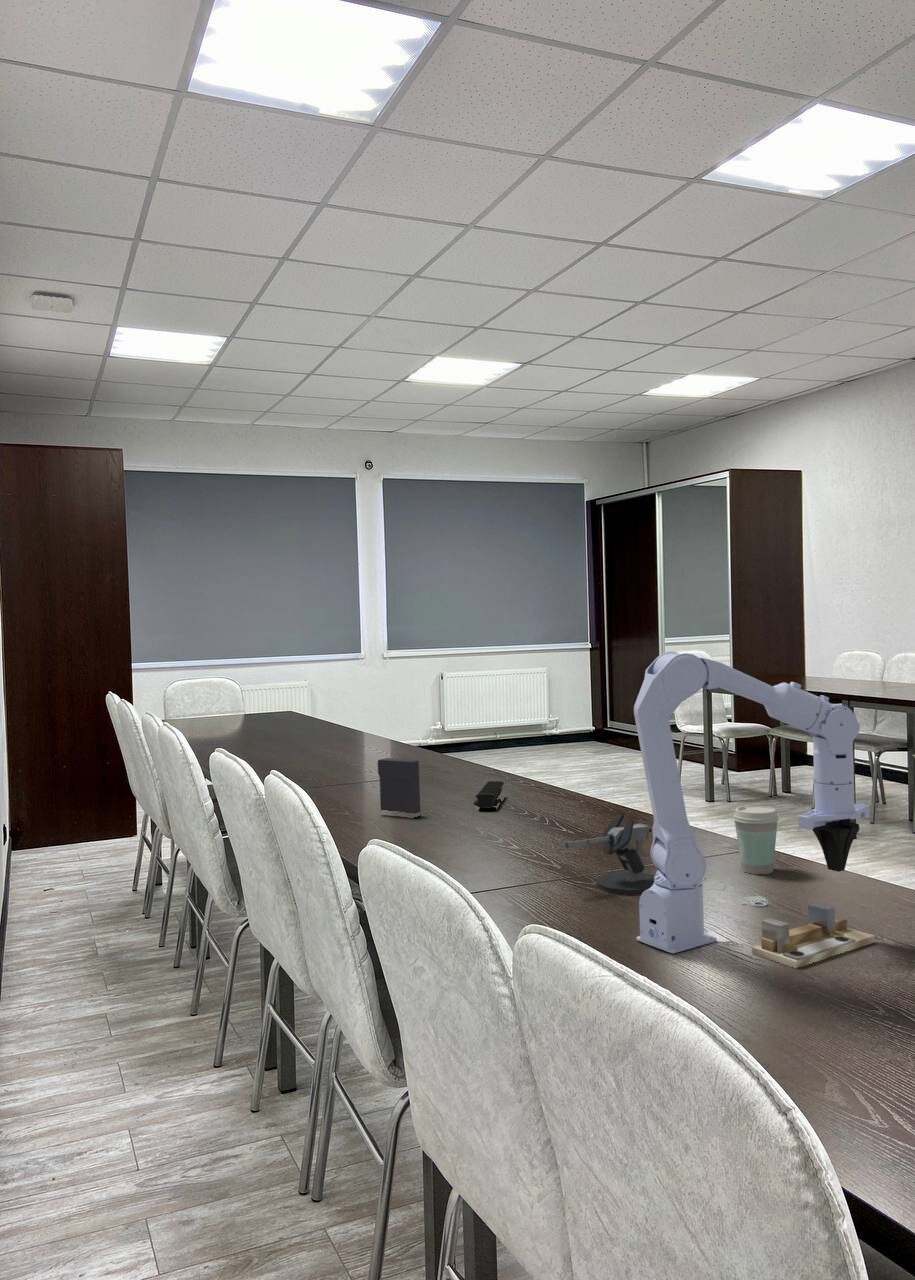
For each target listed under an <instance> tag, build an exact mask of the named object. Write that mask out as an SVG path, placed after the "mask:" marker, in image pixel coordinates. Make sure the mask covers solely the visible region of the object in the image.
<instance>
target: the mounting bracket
mask: <svg viewBox="0 0 915 1280" xmlns="http://www.w3.org/2000/svg"><path fill="white" fill-rule="evenodd" d="M736 898H737V899H738V898H739V900H741V901H742V903H743V902H744V903H746V904H748V903H749V902H750V905H749V904H748V905H747V906H751V907H755V908H767V907H768V904H769V903H768V902H767V903H765V902H766V899H767V898H766V897H763V896H760V895H753V896H752V895H751V896H742V897H736ZM742 898H743V900H744V899H745V901H743V900H742ZM731 899H732V900H733V898H731ZM732 900H731V901H732ZM739 900H738V901H739ZM746 900H747V902H748V901H749V902H748V903H747V902H746ZM752 900H753V902H752ZM756 900H757V901H756ZM762 900H763V901H765V902H762ZM768 900H769V899H767V901H768ZM741 901H740V902H741ZM754 901H755V902H754ZM760 901H761V902H760ZM740 904H741V903H740Z"/></svg>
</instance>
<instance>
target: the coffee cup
mask: <svg viewBox="0 0 915 1280" xmlns="http://www.w3.org/2000/svg"><path fill="white" fill-rule="evenodd" d="M733 813H734V814H733V816H732V817H733V818H732V820H734V824H735V825H734V826H735V833H736V839H737V846H738V847H737V848H738V854H739V861H740V866H741V871H742V872H743V871H744V872H743V873H745V872H747V873H746V874H749V873H752V874H751V875H757V874H763V875H768V874H769V873H770V874H772V873H773V872H774V865H775V863H774V862H775V855H776V843H777V842H776V840H777V830H778V829H777V828H778V822H779V821H780V819H779V815H778V813H777V810H776V809H775V808H774V807H772V806H771V807H770V806H766V805H764V806H763V805H744V806H738V807H736V808H735V810H734V812H733ZM770 874H769V875H770Z"/></svg>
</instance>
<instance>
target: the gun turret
mask: <svg viewBox="0 0 915 1280" xmlns="http://www.w3.org/2000/svg"><path fill="white" fill-rule="evenodd" d="M624 817H625V815H624V814H621V815H618V816H616V818H614V819H613V820H612V822H610V823H609V825H608V826H607V827H605V828H604V830H603V833H602V836H601V837H595V838H589V839H581V840H575V841H567V842H564V848H566V849H569V848H573V847H574V848H575V847H576V848H577V847H581V846H590V845H594V844H595V845H596V844H600V843H602V848H603V852H605V854H607V855H613V854H616V856H617V858H618V859H619V862H620V864H621V866H622V868H623V870H626V871H625V872H624V871H622V872H610V873H607V874H604V875H603V874H602V875H601V876H598V877H597V879H596V889H598V888H600V889H602V890H601V891H603V890H605V891H607V892H606V893H608V892H609V893H608V894H613V893H619V894H618V895H622V894H625V895H624V896H635V895H634V894H642V893H643V892H644V891H645V890H647V889H649V888H651V887H652V885H653V884H654V877H655V875H654V874H652V873H646V872H643V871H644V869H645V865H644V863H643V861H642V859H641V857H640V854H639V853H638V851H639V852H642V851H643V849H644V848H643V840H650V832H652V828H653V827H652V828H650V826H649V825H648V824H643V823H640V822H639V823H636V824H634V823H635V821H634V819H633V817H631V816H630V817H629V818H628V819H627V821H626V823H625V825H624V826H623V825H622V826H620V825H621V823H622V821H623V819H624ZM653 824H654V822H653V823H652V825H653ZM652 833H653V832H652ZM633 841H635V848H632V849H630V843H631V842H633ZM600 889H599V890H600ZM605 891H604V892H605Z"/></svg>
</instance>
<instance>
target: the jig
mask: <svg viewBox="0 0 915 1280" xmlns="http://www.w3.org/2000/svg"><path fill="white" fill-rule="evenodd" d="M835 931H839V932H842V933H844V936H843V937H840V936H836V935H833V934H830V935H825V934H824V927H823V924H819V923H816V922H812V923H811V922H810V923H808V924H805V925H802V926H801V925H800V926H798V927H793V928H791V929H790V924H789V923H788V922H784V921H780V920H777V919H775V918H771V917H769V918H766V919H762V920H761V935H762V936H761V938H760V941H761V943H760V944H756V945H754V946H752V947H751V950H752V951H751V952H752V955H754V956H758V957H760V956H761V958H763V957H764V959H767V960H769V961H772V960H773V961H772V962H775V961H776V963H778V962H779V963H778V964H782V965H785V966H787V967H790V968H792V967H793V969H799V968H802V967H805V966H808V965H810V964H814V963H817V962H820V961H824V960H826V959H829V958H831V956H832V957H835V956H838V955H841V954H844V953H847V952H849V951H853V950H855V949H859V948H862V947H865V946H867V945H871V944H874V943H876V939H875V937H876V936H875V935H874V934H870V933H867V932H864V931H859V930H856V929H852V928H849V927H848V919H847V918H844V917H840V916H838V915H835ZM846 951H847V952H846ZM840 953H841V954H840ZM837 954H838V955H837ZM834 955H835V956H834ZM828 957H829V958H828ZM813 962H814V963H813ZM798 967H799V968H798Z"/></svg>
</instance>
